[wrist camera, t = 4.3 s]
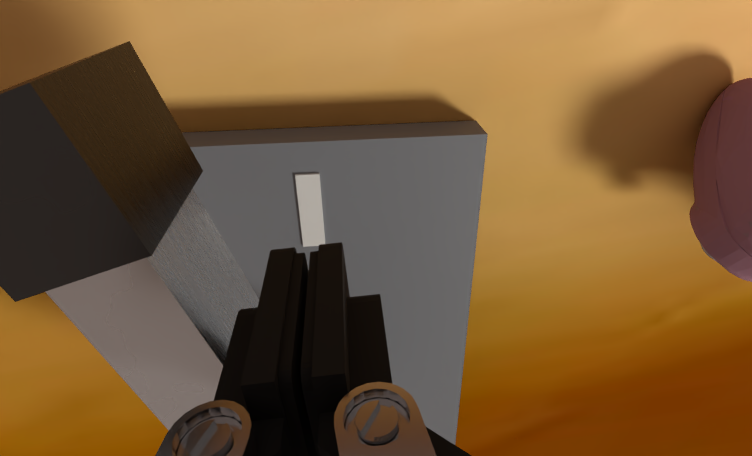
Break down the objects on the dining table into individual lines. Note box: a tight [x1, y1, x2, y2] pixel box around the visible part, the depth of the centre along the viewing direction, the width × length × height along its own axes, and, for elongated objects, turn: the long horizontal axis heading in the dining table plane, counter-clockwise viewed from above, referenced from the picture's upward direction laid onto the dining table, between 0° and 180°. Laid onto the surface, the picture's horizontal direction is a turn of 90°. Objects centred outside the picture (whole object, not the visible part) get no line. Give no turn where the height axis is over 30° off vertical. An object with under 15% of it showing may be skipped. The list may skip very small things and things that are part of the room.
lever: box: [0, 41, 259, 430], centre depth 14 cm, size 17×6×9 cm, turn 18°
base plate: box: [182, 120, 487, 445], centre depth 21 cm, size 20×12×2 cm, turn 1°
